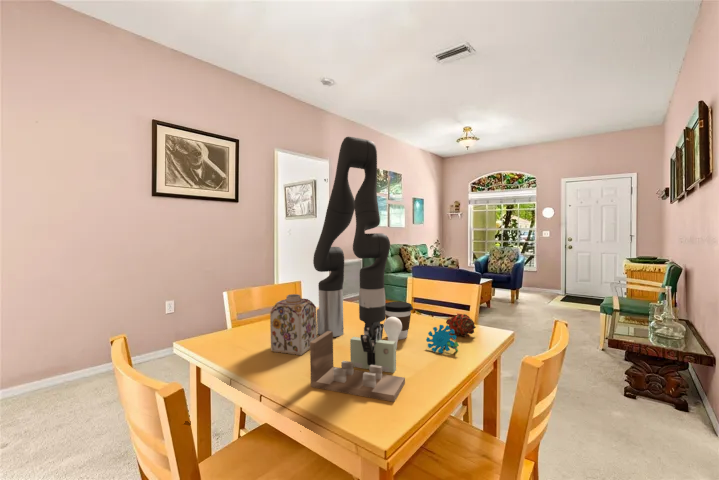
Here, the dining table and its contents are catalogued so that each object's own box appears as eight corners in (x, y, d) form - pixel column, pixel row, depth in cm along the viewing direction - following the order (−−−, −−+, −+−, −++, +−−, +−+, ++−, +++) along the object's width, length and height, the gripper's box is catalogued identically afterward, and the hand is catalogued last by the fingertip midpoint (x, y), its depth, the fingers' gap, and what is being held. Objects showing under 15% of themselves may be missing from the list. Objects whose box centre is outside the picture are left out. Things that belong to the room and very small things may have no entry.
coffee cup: (379, 339, 122) (379, 306, 122) (388, 331, 133) (388, 300, 132) (409, 343, 118) (408, 308, 118) (416, 333, 128) (415, 302, 128)
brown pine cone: (475, 343, 121) (447, 340, 131) (484, 325, 126) (457, 323, 135) (464, 327, 119) (437, 324, 128) (473, 309, 123) (446, 308, 133)
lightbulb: (390, 354, 108) (389, 320, 107) (380, 348, 113) (379, 316, 113) (406, 351, 110) (405, 317, 110) (395, 345, 116) (395, 313, 115)
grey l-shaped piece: (310, 386, 87) (310, 342, 86) (328, 371, 96) (327, 330, 96) (394, 401, 78) (393, 352, 78) (404, 383, 88) (404, 339, 87)
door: (348, 368, 98) (348, 340, 97) (353, 363, 101) (353, 336, 101) (392, 374, 93) (392, 345, 93) (396, 369, 96) (395, 341, 96)
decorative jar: (288, 340, 123) (287, 291, 122) (317, 344, 119) (317, 292, 118) (269, 352, 112) (268, 297, 111) (300, 356, 108) (299, 299, 107)
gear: (420, 343, 113) (435, 319, 116) (426, 352, 116) (441, 328, 120) (447, 357, 104) (463, 331, 108) (454, 366, 108) (469, 340, 111)
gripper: (368, 297, 105) (369, 353, 106) (350, 307, 92) (351, 370, 93) (391, 299, 102) (392, 356, 103) (376, 309, 89) (377, 374, 90)
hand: (373, 362), depth 98 cm, fingers closed on door, 2 cm apart
